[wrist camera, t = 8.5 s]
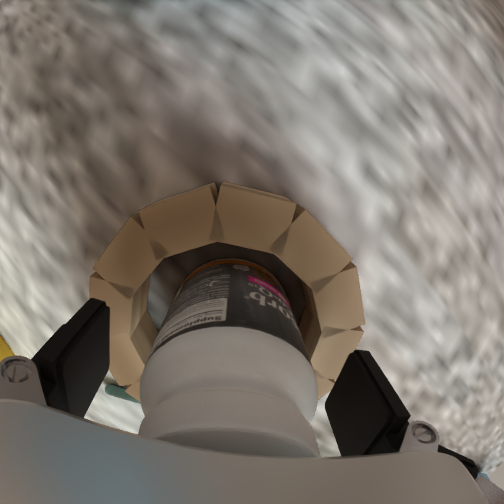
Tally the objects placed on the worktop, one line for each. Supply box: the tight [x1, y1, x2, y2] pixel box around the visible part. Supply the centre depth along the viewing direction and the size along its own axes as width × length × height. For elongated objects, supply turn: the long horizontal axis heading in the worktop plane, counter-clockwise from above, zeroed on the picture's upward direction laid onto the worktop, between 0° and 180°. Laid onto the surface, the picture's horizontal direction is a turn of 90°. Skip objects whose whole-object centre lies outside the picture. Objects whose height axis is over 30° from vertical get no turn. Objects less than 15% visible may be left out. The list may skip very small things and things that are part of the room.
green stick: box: [105, 384, 141, 404], centre depth 17 cm, size 13×1×1 cm, turn 76°
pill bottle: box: [138, 258, 320, 457], centre depth 10 cm, size 6×6×10 cm
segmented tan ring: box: [90, 182, 365, 402], centre depth 14 cm, size 12×12×3 cm
